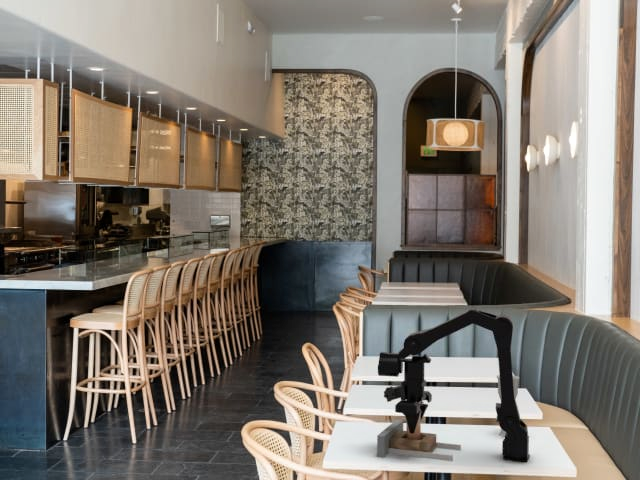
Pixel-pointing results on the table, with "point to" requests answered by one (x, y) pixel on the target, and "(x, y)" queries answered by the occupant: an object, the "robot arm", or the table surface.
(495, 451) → the table surface
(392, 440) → the socket block
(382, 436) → the backstop
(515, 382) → the chalice
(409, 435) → the dowel
